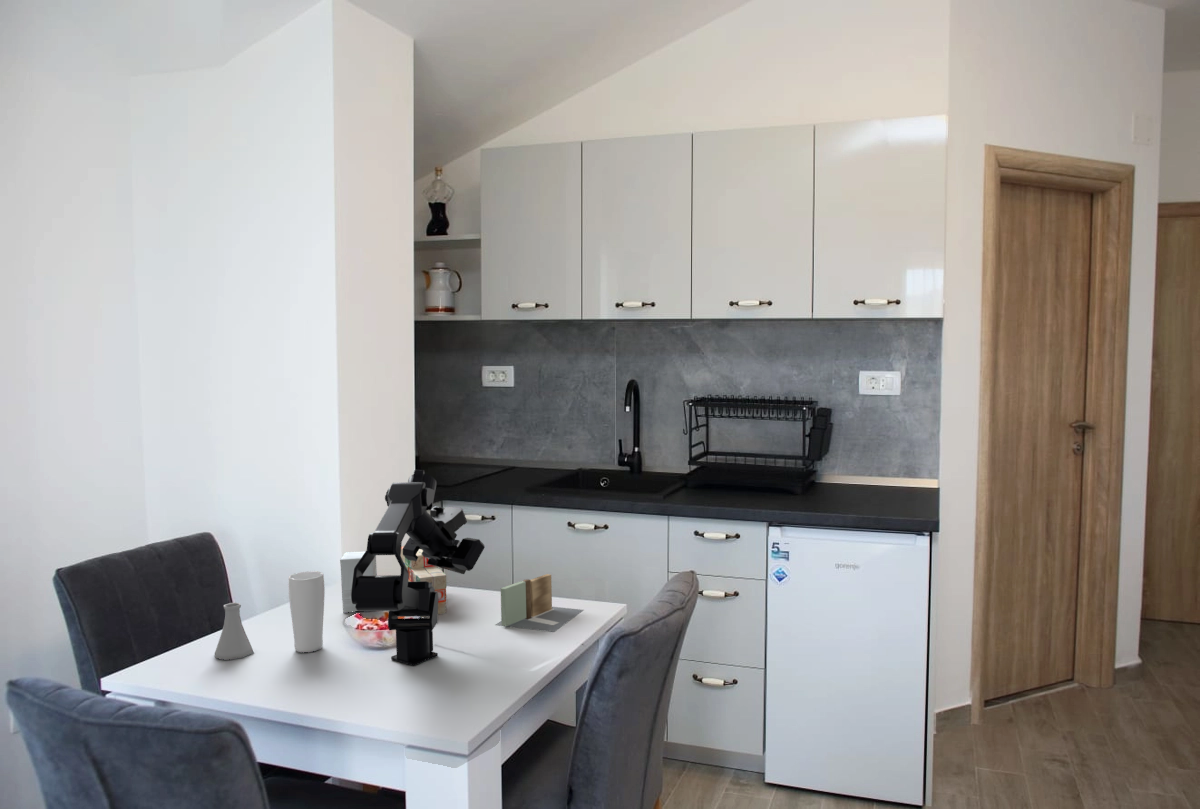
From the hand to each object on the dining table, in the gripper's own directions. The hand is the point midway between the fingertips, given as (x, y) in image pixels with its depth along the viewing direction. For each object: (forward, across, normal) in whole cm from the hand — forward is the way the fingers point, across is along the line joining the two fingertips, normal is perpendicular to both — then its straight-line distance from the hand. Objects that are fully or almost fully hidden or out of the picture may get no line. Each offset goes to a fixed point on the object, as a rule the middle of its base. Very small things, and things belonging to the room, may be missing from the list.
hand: (463, 572), depth 177 cm
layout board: (+21, -7, -2) cm, 22 cm away
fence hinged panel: (+15, -5, +2) cm, 16 cm away
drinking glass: (-8, +20, +26) cm, 34 cm away
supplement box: (+10, +34, +9) cm, 37 cm away
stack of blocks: (+17, +24, +2) cm, 29 cm away
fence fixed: (+21, -5, -3) cm, 22 cm away
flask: (-14, +30, +33) cm, 47 cm away
